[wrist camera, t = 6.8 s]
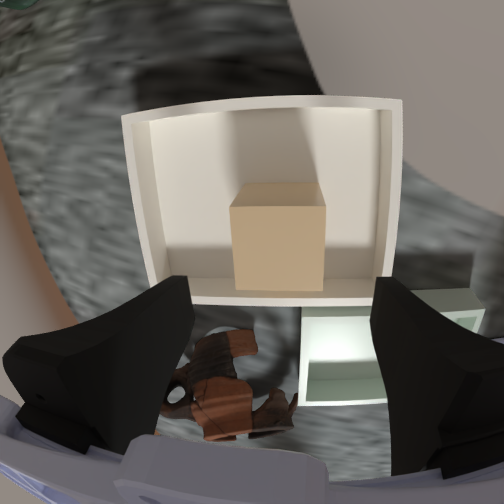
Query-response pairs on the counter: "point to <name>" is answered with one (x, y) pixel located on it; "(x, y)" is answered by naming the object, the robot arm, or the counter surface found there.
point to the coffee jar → (17, 4)
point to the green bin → (360, 348)
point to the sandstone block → (278, 236)
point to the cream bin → (266, 171)
